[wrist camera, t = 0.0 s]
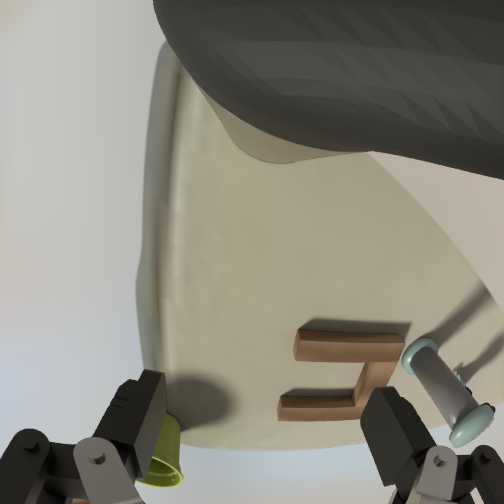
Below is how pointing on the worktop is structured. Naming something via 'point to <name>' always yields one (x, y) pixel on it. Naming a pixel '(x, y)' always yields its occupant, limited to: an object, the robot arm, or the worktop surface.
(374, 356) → the notched board
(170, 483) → the plant pot
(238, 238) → the worktop surface
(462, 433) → the spool
